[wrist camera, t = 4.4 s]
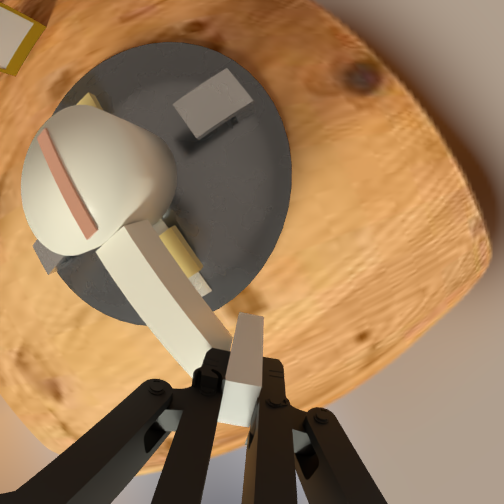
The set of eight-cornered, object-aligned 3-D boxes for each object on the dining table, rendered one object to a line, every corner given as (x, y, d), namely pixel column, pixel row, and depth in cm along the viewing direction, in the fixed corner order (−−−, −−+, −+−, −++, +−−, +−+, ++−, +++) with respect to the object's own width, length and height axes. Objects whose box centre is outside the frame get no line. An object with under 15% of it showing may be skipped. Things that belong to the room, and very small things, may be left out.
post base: (15, 169, 20) (-9, 169, 16) (185, 6, 16) (174, -16, 13) (126, 358, 24) (110, 379, 20) (350, 221, 20) (367, 228, 16)
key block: (56, 136, 18) (-7, 127, 10) (119, 72, 17) (64, 36, 9) (186, 342, 21) (154, 405, 14) (269, 294, 20) (271, 354, 12)
